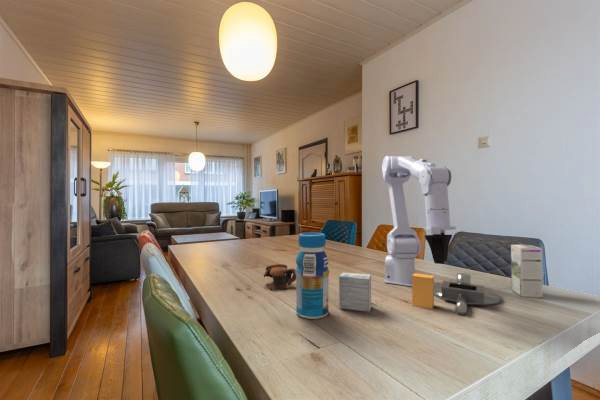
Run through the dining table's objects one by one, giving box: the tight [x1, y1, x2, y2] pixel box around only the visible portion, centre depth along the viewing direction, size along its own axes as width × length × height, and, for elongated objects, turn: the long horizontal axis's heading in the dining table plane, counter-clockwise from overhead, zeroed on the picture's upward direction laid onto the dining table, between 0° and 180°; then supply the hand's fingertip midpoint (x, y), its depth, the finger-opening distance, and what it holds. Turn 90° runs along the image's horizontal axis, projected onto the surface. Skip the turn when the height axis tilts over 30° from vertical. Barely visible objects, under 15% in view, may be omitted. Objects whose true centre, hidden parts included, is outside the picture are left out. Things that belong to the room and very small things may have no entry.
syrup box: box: [510, 244, 544, 299], centre depth 86 cm, size 6×6×14 cm
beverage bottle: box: [295, 232, 330, 320], centre depth 72 cm, size 8×8×20 cm
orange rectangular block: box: [411, 272, 435, 310], centre depth 77 cm, size 5×3×8 cm, turn 59°
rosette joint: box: [434, 272, 501, 316], centre depth 82 cm, size 18×26×6 cm
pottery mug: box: [263, 263, 296, 291], centre depth 96 cm, size 12×10×8 cm
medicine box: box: [338, 272, 372, 313], centre depth 76 cm, size 8×4×9 cm, turn 71°
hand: (440, 262), depth 75 cm, fingers open, 7 cm apart
